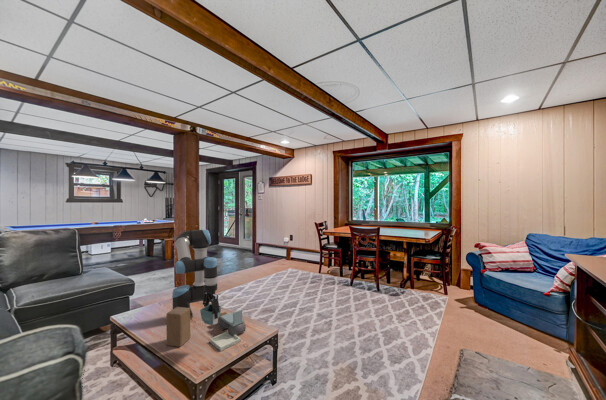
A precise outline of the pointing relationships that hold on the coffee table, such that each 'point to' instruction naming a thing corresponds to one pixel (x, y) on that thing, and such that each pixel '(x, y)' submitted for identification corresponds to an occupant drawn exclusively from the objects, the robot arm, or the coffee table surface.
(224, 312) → the block
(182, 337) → the wooden block
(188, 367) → the coffee table surface
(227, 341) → the tray
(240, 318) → the trolley
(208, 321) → the flower pot
